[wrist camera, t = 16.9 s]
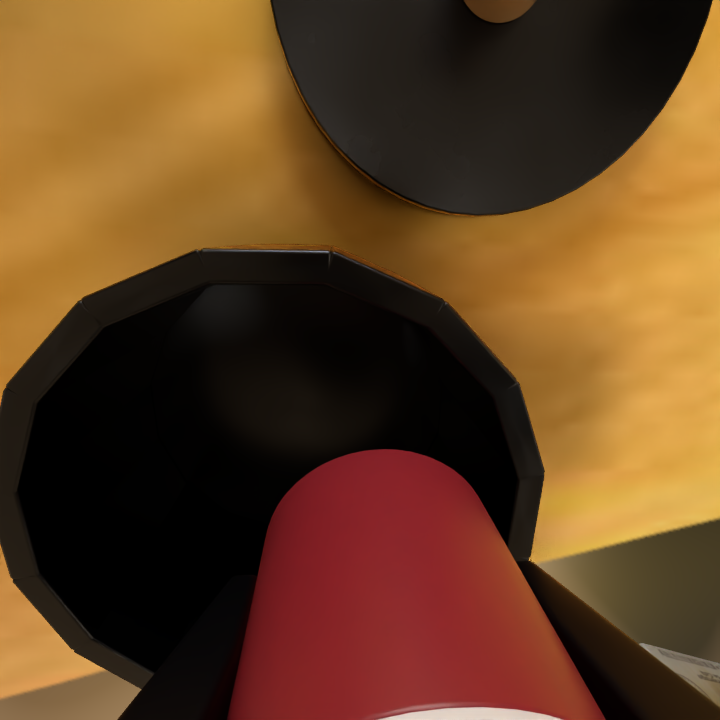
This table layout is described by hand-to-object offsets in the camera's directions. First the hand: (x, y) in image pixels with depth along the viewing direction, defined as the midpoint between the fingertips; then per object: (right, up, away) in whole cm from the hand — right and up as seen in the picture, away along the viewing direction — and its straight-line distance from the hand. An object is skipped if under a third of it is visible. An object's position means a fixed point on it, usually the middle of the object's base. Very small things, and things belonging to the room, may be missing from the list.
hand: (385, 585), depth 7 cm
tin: (-3, +3, +7) cm, 8 cm away
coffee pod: (0, 0, +1) cm, 1 cm away
